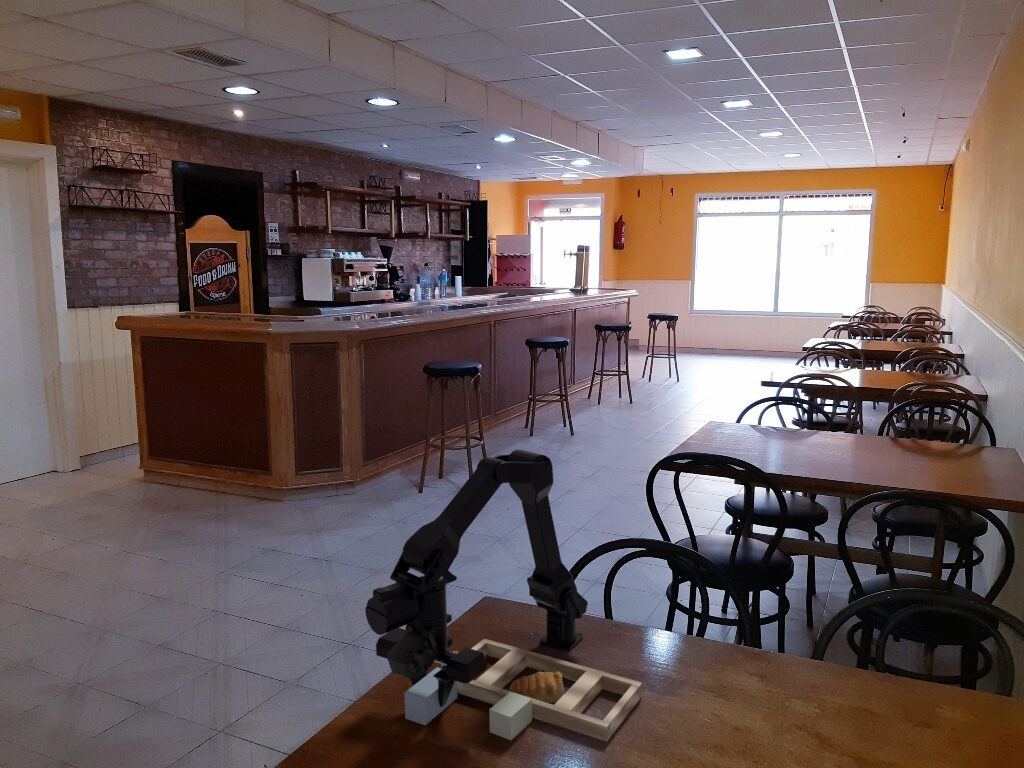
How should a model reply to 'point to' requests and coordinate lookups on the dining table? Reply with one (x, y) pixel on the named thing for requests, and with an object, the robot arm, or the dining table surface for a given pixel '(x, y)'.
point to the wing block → (426, 699)
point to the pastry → (540, 686)
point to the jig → (570, 703)
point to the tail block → (510, 715)
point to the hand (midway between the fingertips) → (431, 702)
